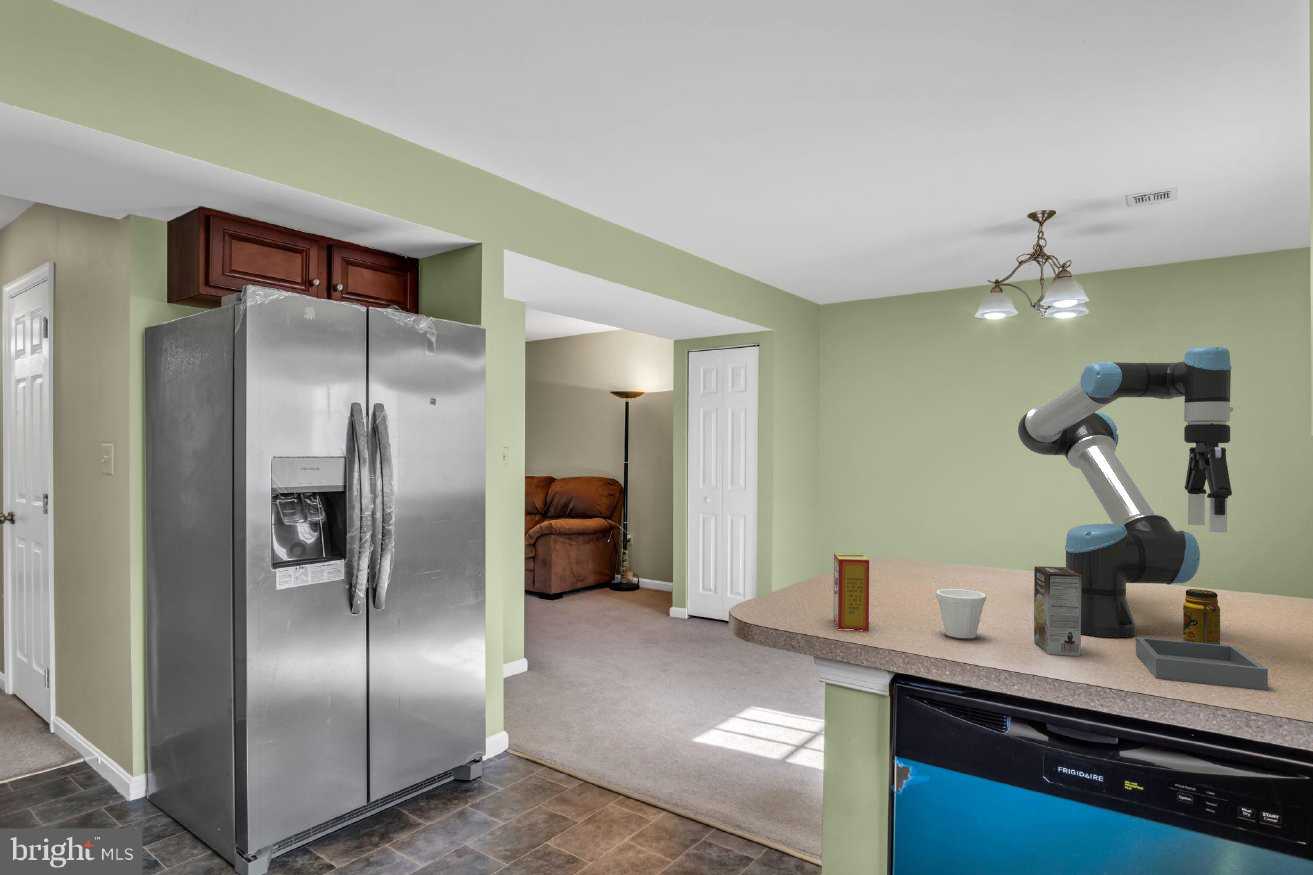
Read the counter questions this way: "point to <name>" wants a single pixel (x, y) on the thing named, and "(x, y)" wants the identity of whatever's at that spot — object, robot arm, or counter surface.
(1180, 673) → the tray
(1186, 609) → the condiment
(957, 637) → the cup
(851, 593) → the baking soda box
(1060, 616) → the coffee box
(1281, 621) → the counter surface
